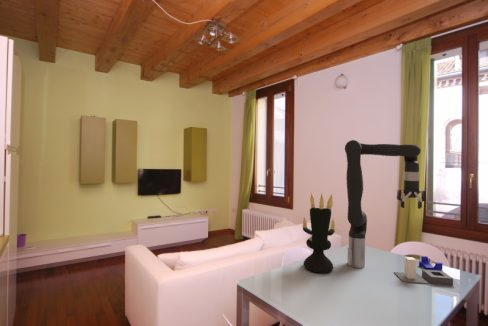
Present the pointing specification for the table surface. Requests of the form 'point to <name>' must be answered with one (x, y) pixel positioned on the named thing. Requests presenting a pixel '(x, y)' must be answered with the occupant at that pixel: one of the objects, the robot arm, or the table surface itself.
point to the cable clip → (427, 265)
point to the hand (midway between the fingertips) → (411, 208)
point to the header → (437, 277)
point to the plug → (410, 267)
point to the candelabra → (319, 236)
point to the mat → (405, 279)
